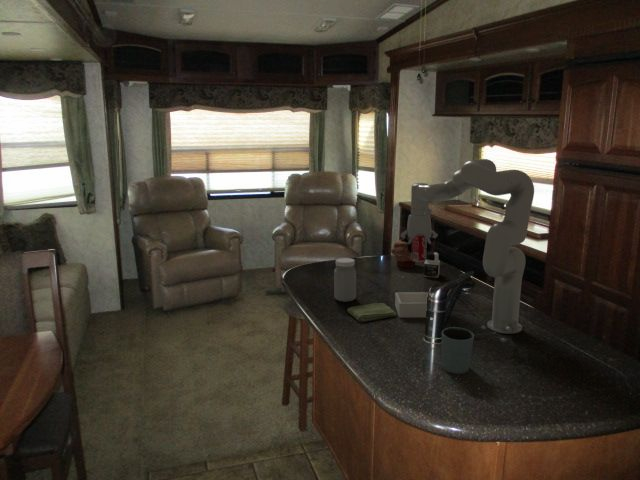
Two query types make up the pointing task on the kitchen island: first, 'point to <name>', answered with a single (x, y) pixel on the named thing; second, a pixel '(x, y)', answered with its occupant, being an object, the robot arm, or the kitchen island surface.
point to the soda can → (419, 248)
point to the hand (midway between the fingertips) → (418, 252)
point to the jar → (345, 280)
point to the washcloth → (371, 312)
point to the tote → (411, 304)
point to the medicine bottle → (431, 265)
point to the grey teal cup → (456, 349)
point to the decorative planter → (402, 254)
